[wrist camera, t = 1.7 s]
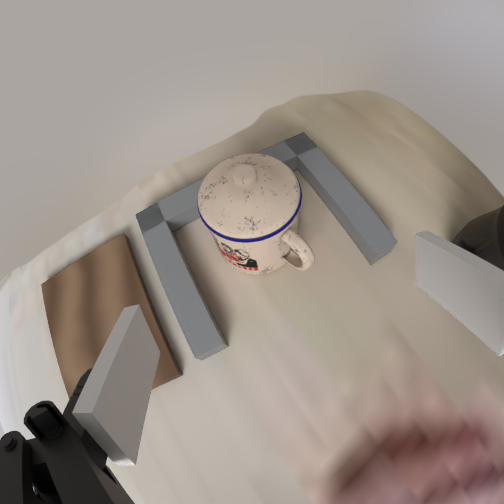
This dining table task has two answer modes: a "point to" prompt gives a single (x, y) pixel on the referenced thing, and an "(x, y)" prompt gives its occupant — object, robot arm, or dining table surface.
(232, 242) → the teacup with lid
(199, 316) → the cup dock
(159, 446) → the dining table surface
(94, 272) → the walnut board
